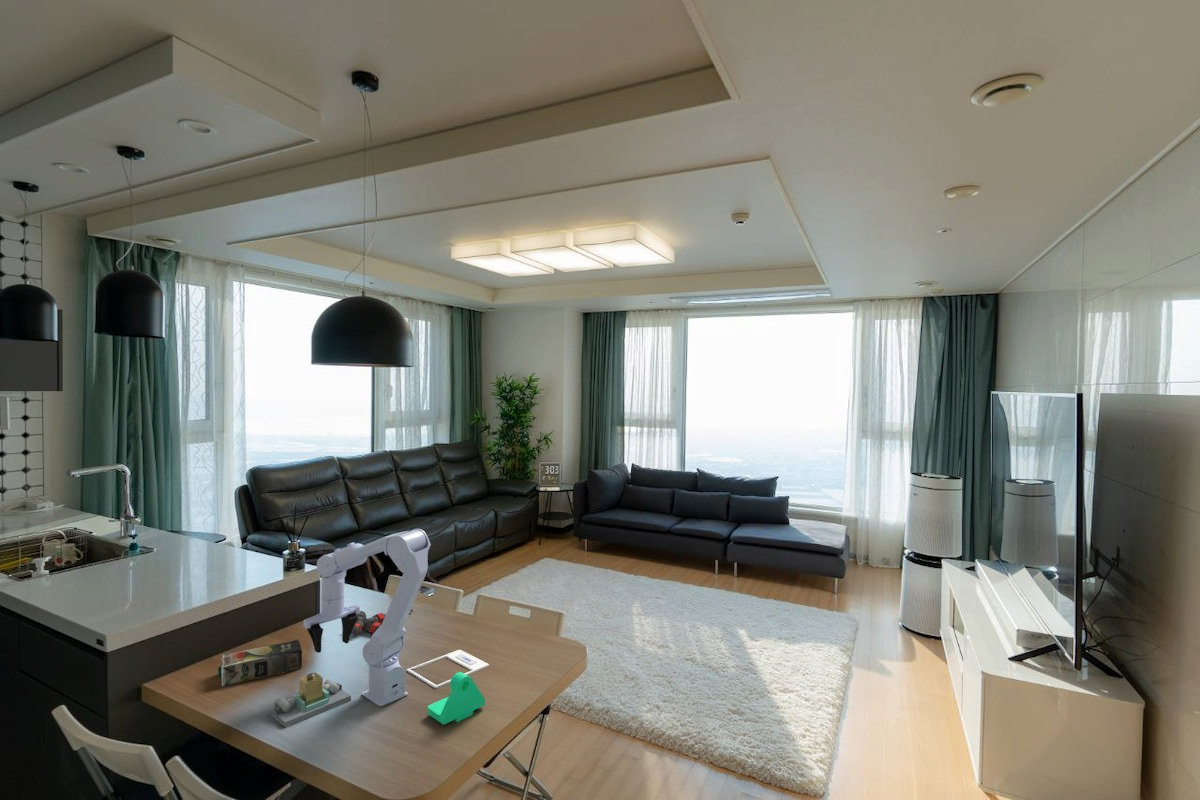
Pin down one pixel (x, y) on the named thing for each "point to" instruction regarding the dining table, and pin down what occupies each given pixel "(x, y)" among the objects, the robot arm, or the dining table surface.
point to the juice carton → (260, 662)
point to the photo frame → (458, 657)
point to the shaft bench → (297, 711)
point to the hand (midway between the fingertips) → (331, 646)
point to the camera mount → (458, 700)
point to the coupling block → (311, 688)
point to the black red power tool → (368, 623)
